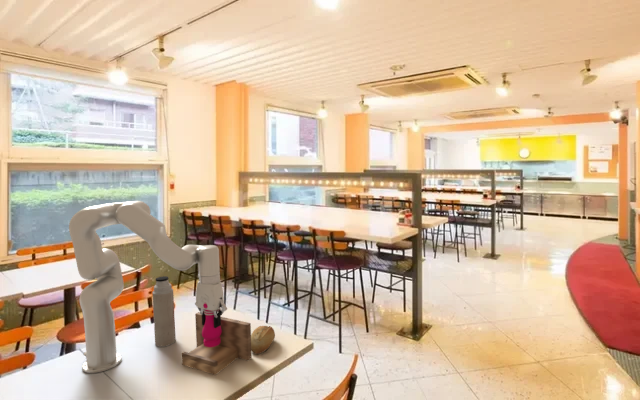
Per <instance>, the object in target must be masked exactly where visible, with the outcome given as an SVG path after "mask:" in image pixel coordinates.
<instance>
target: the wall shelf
mask: <svg viewBox="0 0 640 400" xmlns="http://www.w3.org/2000/svg"><path fill="white" fill-rule="evenodd" d="M194 316H195V334H196V335H195V338H196V339H195V340H196V348H194V349H192V350H191V351H189V352H187V351H183V352H181V364H182V366H185V367H188V368H192V369H195V370H198V371H201V372H205V373H209V374H211V375H214V376H215V375H218V374H219V373H220V372H221V371H222V370H224V369H226V368H227V367H228V366H229V365H230V364H232V363H233V362H234V361H237V359H241V360H245V361H247V362H248V361H250V360H251V359H252V351H251V334H252V329H251V328H252V327H251V326H252V325H251V322H247V321H243V320H242V321H241V320H237V319H234V318H228V317H224V316H221V325H220V326H221V330H222V333H221V335H220V338H221V343H220V344H219V345H217V346H215V347H206V346H204V338H203V336H202V330H203V327H204V325H202V315H201V314H200V311H198V312H196V313H195V315H194Z"/></svg>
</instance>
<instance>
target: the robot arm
mask: <svg viewBox="0 0 640 400" xmlns="http://www.w3.org/2000/svg"><path fill="white" fill-rule="evenodd" d="M114 225H122V226H123V227H126V228H127V229H128V230H129V231H131V232H133V233H134V234H135V235H137V236H138V237H139V238H141V239H143V241H145V242H146V243H148V245H149V247H150V249H151V250H152V251H153V253H154V254H155V255H156V256H157V258H159V259H160V260H161V261H162V262H164V263H165V264H167V265H168V266H169V267H171V268H172V269H175V270H176V271H182V272H183V271H187V270H188V269H190V268H191V267H192V266H194V265H196V264H198V265H197V267H198V274H197V278H198V282H197V284H196V290H195V292H196V293H195V302H194V305H195V306H196V308H197V309H198V312H200V314H201V315H202V325H204V324H205V320H206V315H205V314H204V310H210V311H213V312H214V315H215V317H214V328H217V327H218V326H220V325H221V317H222V315H223V314H224V313H225V312H226V311H227V310H228V307H227V305H226V303H225V299H224V298H225V297H224V288H223V285H222V281H221V272H220V249H219V247H218V245H215V244H214V245H213V244H206V245H199V244H186V245H184V246H183V247H181V246H179V245H177V244H176V243H175V242H174V241H172V239H171V238H170V237H169V235H168V234H167V230H166V225H165V223H163V222H162V221H160V220H159V219H157V218H156V217H155V216H153V215H151V208H150V206H149V205H148V203H145V202H144V201H142V200H134V201H133V200H132V201H122V202H121V201H120V202H112V203H110V202H109V203H103V204H98V205H97V204H96V205H92V206H91V205H90V206H88V207H85V208H84V207H83V208H82V209H81V210H78V211H77V212H76V213H75V214H74V215H72V217H71V219H70V221H69V223H68V230H69V236H70V239H71V243H72V247H73V251H74V256H75V257H74V258H75V261H76V262H75V263H76V267H77V271H78V275H79V276H80V277H81V278H82V279H83V280H85V281H92V280H95V279H96V280H95V281H93V282H92V283H89V284H88V285H87V286H85V287H84V289H82V290H81V293H80V295H79V306H80V308H81V311H82V317H83V326H84V339H85V340H84V341H85V352H83V356H85V359H86V360H85V361H84V362H83V364H82V366H81V368H82V371H83V372H85V373H88V374H96V373H97V374H98V373H101V372H105V371H108V370H111V369H113V368H114V367H116V366H117V365H120V363H121V361H122V355H121V354H120V353H118V352H117V341H116V340H117V339H116V338H117V337H116V325H115V314H114V310H113V308H112V306H111V302H112V301H113V300H115V299H116V298H117V297H118V296H120V295H121V294H122V293H123V291H124V278H123V273H122V268H121V263H120V259H119V255H118V254H117V253H116V252H115V251H114V250H112V249H111V248H107V247H106V248H105V247H104V248H103V245H102V241H101V238H100V236H99V235H98V233H97V230H99V229H102V228H106V227H109V226H114ZM204 304H207V306H208V307H207V308H206V309H205V308H204V307H203V305H204ZM217 310H218V313H217Z"/></svg>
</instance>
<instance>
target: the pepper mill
mask: <svg viewBox="0 0 640 400" xmlns="http://www.w3.org/2000/svg"><path fill="white" fill-rule="evenodd" d="M203 307H204V308H205V309H206V308H207V307H208V306H207V304H204V305H203ZM217 313H218V310H217ZM204 314H205V315H206V320H205V324H204V327H203V330H202V336H203V338H204V346H206V347H215V346H217V345H219V344H220V343H221V338H220V335H221V333H222V330H221V326H218V327H217V328H214V317H215V315H214V312H213V311H210V310H204Z"/></svg>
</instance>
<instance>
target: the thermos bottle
mask: <svg viewBox="0 0 640 400" xmlns="http://www.w3.org/2000/svg"><path fill="white" fill-rule="evenodd" d="M174 298H175V297H174V289H173V288H172V283H170V282H169V276H164V275H163V276H158V277H156V278H155V285H154V286H153V291H152V310H153V324H154V331H153V332H154V345H155V346H156V347H161V348H162V347H163V348H164V347H168V346H171V345H173V344H174V343H175V342H176V340H177V339H176V318H175V302H174V301H175V300H174Z"/></svg>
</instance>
